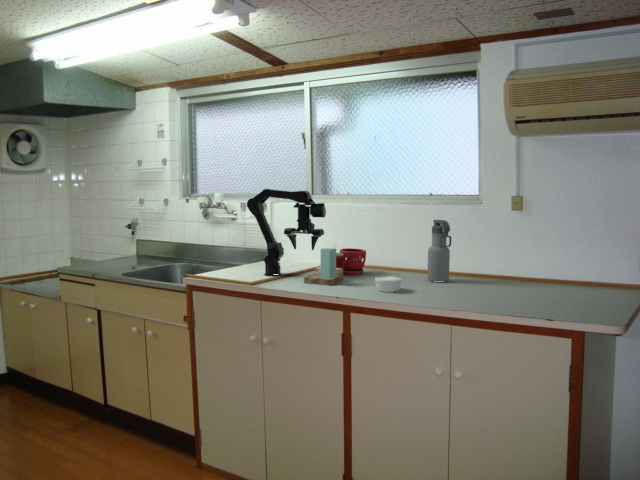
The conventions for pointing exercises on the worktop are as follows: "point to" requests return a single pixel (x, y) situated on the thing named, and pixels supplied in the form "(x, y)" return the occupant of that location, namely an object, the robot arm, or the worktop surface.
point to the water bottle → (439, 252)
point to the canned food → (340, 261)
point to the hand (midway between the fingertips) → (303, 249)
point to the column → (328, 263)
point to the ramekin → (388, 283)
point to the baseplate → (322, 280)
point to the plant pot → (353, 260)
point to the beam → (338, 270)
